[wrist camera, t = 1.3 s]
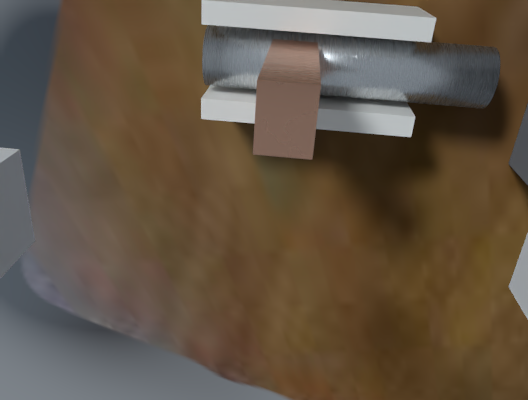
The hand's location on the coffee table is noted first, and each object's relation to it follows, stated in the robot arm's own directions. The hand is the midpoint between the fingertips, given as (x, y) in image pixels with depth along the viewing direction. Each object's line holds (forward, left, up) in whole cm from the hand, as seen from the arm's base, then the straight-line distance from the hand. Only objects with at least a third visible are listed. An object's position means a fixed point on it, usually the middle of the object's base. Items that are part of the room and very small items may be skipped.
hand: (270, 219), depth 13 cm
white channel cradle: (0, +1, -21) cm, 21 cm away
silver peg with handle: (0, +3, -20) cm, 20 cm away
